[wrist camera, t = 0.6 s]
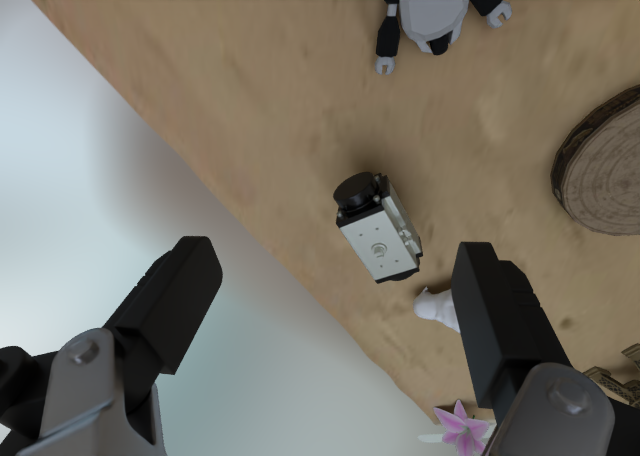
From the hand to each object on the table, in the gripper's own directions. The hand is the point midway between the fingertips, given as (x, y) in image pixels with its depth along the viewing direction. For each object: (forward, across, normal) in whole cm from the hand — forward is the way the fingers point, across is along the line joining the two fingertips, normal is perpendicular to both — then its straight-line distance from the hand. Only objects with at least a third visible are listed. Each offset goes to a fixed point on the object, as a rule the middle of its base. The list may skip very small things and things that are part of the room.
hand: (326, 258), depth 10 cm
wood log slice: (+27, -28, +10) cm, 40 cm away
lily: (+26, -20, +69) cm, 76 cm away
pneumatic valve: (+27, -2, +13) cm, 30 cm away
